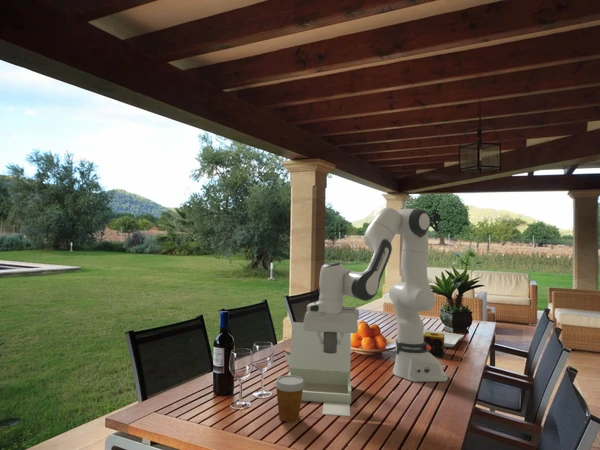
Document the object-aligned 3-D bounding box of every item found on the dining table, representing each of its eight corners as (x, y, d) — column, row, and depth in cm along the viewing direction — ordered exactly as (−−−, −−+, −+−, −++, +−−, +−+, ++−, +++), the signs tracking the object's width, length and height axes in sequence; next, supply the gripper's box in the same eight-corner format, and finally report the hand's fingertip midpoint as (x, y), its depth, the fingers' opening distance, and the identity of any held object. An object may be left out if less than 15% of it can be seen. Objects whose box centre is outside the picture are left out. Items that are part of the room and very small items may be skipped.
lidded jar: (306, 372, 170) (307, 350, 170) (282, 370, 172) (282, 348, 173) (310, 364, 181) (311, 344, 181) (287, 362, 183) (288, 342, 183)
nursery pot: (336, 350, 149) (337, 325, 149) (336, 353, 144) (337, 328, 144) (323, 349, 149) (324, 325, 150) (322, 353, 144) (323, 328, 145)
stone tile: (349, 406, 136) (349, 404, 136) (350, 418, 127) (350, 415, 127) (323, 404, 137) (323, 402, 137) (322, 416, 128) (322, 413, 128)
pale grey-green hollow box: (349, 380, 162) (350, 324, 162) (351, 405, 137) (352, 339, 138) (291, 376, 164) (292, 321, 165) (282, 400, 140) (284, 335, 141)
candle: (422, 355, 202) (422, 335, 202) (424, 350, 211) (424, 331, 211) (443, 357, 198) (443, 337, 198) (444, 352, 207) (444, 333, 207)
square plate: (464, 340, 235) (464, 334, 235) (454, 351, 212) (454, 343, 212) (418, 333, 249) (418, 327, 249) (404, 342, 226) (404, 336, 226)
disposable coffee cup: (281, 409, 133) (282, 372, 133) (308, 414, 129) (309, 377, 129) (268, 421, 124) (269, 382, 124) (296, 427, 120) (297, 387, 121)
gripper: (358, 305, 149) (358, 343, 149) (304, 303, 151) (303, 340, 151) (359, 308, 143) (358, 347, 142) (303, 306, 145) (302, 344, 145)
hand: (330, 343), depth 147 cm, fingers closed on nursery pot, 5 cm apart
